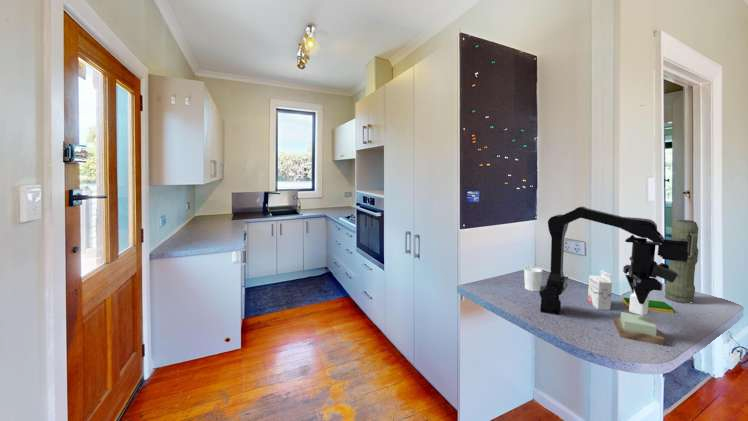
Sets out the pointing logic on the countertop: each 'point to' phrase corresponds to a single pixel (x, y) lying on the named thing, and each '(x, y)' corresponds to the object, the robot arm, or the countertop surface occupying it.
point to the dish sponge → (654, 305)
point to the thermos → (683, 264)
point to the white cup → (532, 278)
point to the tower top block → (638, 324)
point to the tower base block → (638, 334)
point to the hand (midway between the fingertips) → (639, 300)
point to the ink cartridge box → (600, 290)
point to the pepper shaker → (638, 305)
